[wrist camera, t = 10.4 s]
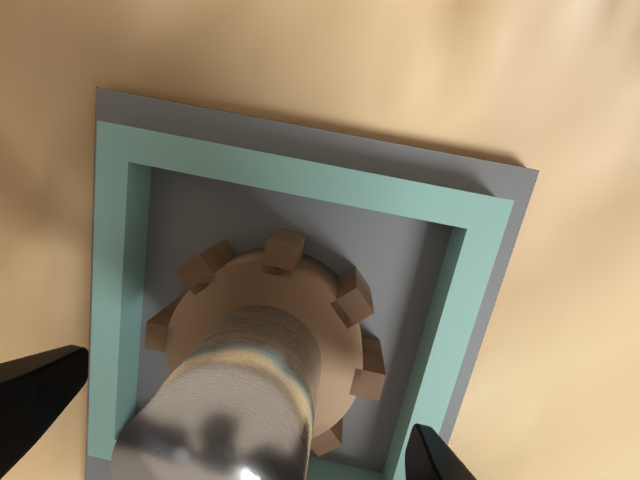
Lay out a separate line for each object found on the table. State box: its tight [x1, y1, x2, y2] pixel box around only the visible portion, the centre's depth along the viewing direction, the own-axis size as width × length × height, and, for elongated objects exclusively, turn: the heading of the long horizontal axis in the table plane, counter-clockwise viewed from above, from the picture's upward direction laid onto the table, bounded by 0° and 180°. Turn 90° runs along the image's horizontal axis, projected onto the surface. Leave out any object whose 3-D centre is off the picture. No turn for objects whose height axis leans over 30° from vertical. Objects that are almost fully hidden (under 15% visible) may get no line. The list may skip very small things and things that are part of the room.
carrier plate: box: [86, 87, 539, 480], centre depth 11 cm, size 14×18×3 cm
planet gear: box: [111, 228, 386, 480], centre depth 9 cm, size 7×7×6 cm
